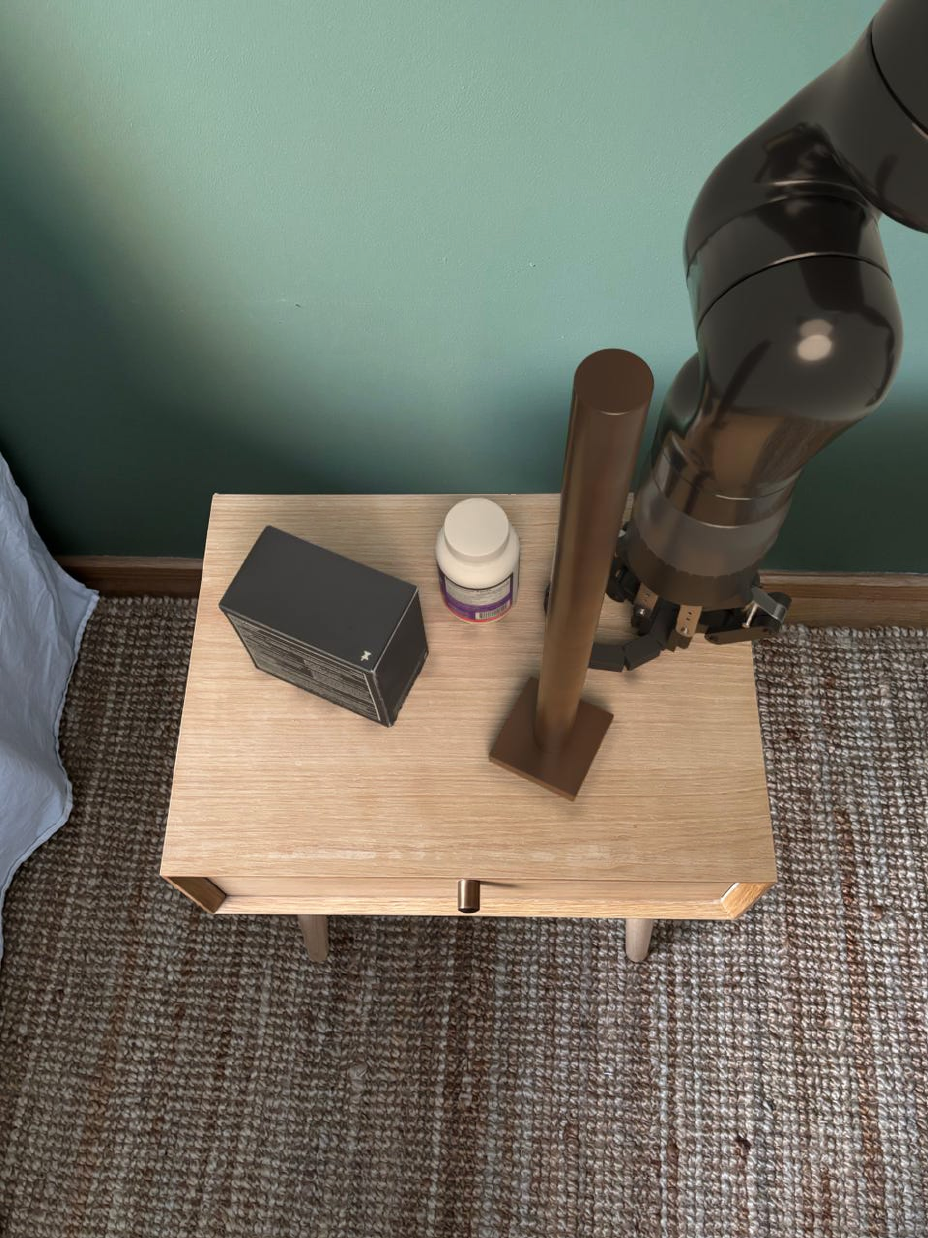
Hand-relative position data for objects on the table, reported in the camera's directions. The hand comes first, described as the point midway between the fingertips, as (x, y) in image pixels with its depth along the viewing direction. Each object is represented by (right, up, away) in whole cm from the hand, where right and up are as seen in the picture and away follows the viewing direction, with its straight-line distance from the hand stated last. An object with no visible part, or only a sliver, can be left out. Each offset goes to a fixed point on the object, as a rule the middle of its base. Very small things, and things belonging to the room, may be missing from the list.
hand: (660, 631), depth 69 cm
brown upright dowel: (-8, -7, -2) cm, 11 cm away
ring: (-3, +1, +1) cm, 4 cm away
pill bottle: (-12, +3, +2) cm, 13 cm away
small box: (-21, -2, +1) cm, 21 cm away
